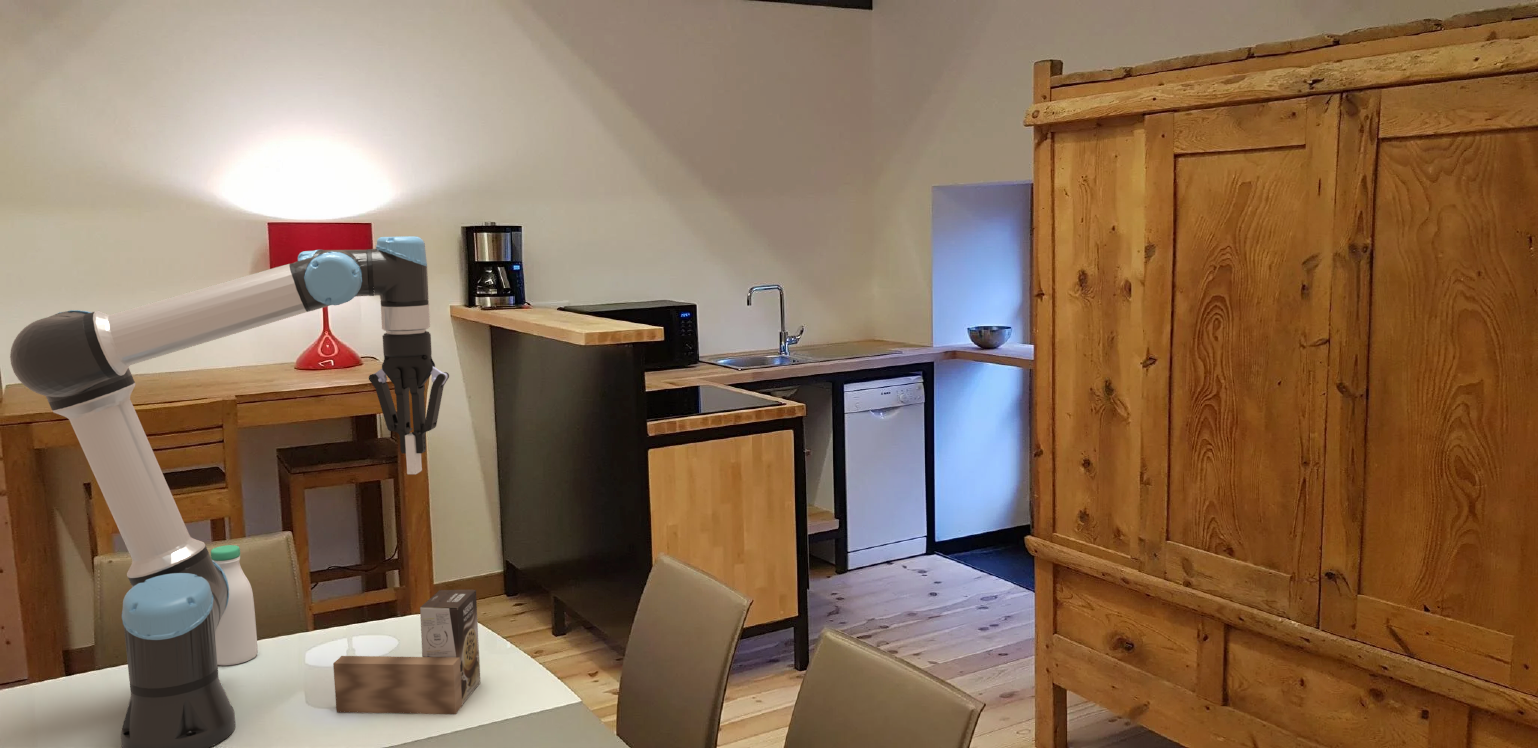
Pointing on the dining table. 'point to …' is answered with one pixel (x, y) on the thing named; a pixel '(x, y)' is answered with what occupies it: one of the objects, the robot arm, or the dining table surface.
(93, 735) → the dining table surface
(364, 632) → the dining table surface
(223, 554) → the milk bottle
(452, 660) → the wooden block
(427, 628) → the coffee box
